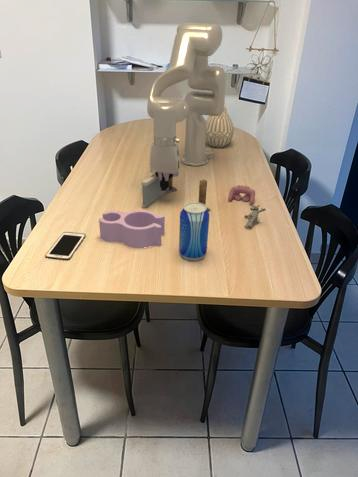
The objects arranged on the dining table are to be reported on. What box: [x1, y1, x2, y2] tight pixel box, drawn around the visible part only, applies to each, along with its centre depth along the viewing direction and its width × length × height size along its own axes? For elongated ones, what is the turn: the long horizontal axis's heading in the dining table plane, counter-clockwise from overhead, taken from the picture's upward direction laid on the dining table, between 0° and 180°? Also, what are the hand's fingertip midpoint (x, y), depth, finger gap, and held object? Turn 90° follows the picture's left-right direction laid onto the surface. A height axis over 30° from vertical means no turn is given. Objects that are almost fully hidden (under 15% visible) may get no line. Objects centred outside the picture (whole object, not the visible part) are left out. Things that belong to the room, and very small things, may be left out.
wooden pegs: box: [165, 177, 211, 213], centre depth 148 cm, size 25×4×12 cm, turn 35°
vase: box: [205, 105, 235, 148], centre depth 202 cm, size 16×16×20 cm
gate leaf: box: [141, 173, 169, 207], centre depth 147 cm, size 17×2×9 cm, turn 153°
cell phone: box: [45, 231, 86, 261], centre depth 122 cm, size 8×15×1 cm, turn 172°
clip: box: [98, 209, 166, 249], centre depth 126 cm, size 20×12×7 cm, turn 83°
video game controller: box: [227, 185, 256, 206], centre depth 150 cm, size 10×5×7 cm, turn 72°
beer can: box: [178, 201, 210, 261], centre depth 115 cm, size 8×8×16 cm
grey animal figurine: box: [244, 204, 267, 229], centre depth 135 cm, size 10×6×9 cm
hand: (164, 189), depth 145 cm, fingers closed
